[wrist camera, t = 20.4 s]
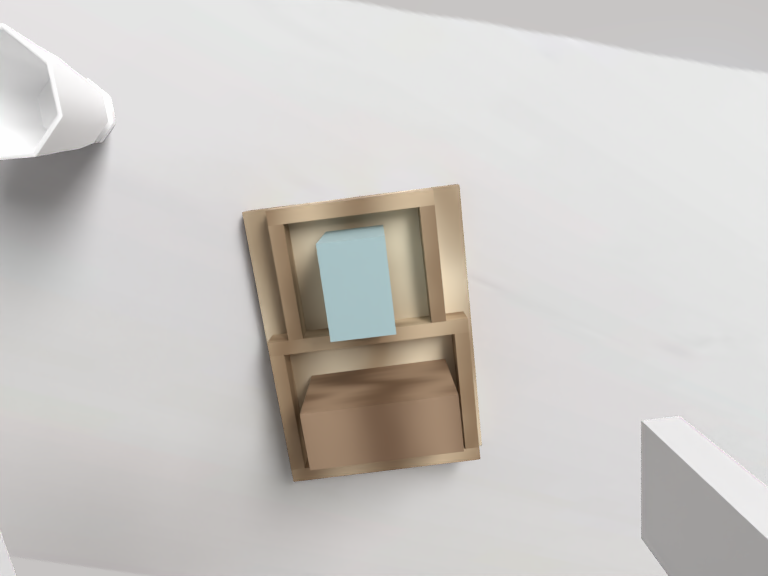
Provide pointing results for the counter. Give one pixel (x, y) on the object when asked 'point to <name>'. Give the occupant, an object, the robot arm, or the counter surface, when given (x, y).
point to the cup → (46, 102)
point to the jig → (409, 295)
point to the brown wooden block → (381, 415)
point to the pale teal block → (356, 283)
